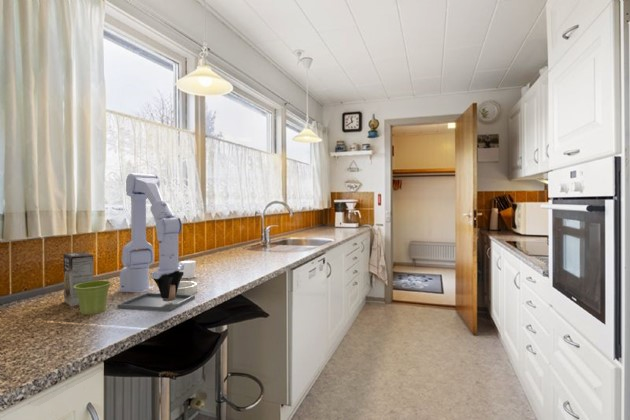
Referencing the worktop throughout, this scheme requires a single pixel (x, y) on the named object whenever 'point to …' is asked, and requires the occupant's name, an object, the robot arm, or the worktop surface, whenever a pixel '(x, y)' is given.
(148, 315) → the worktop surface
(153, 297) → the tray
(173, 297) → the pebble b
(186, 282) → the bowl
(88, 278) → the coffee box
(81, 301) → the plant pot
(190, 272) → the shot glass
